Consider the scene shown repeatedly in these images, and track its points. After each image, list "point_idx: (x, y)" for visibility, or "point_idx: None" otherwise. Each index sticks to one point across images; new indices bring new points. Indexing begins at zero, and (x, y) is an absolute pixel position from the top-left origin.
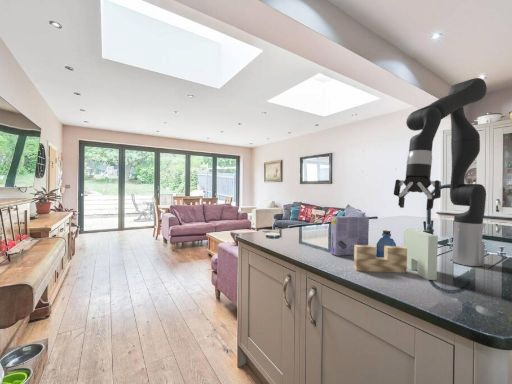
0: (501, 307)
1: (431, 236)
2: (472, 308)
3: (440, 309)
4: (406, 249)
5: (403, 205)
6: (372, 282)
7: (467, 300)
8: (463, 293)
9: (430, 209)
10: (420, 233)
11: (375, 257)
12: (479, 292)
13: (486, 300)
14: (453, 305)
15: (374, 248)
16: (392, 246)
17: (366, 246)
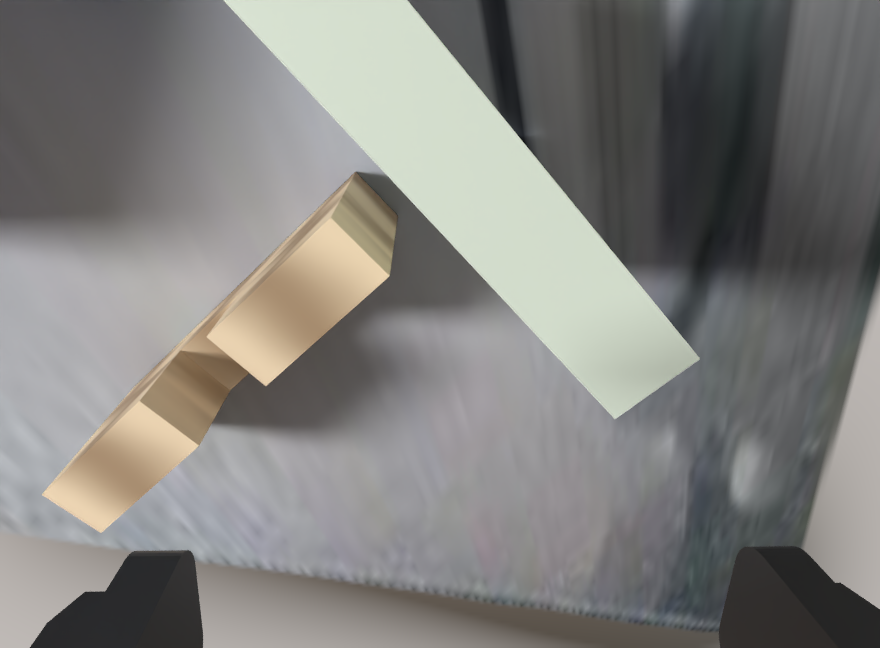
0: (828, 396)
1: (638, 397)
2: (721, 486)
3: (621, 570)
4: (384, 275)
5: (173, 619)
6: (334, 513)
7: (712, 419)
8: (704, 342)
9: (797, 559)
10: (514, 311)
11: (224, 400)
12: (778, 263)
13: (788, 358)
14: (660, 508)
15: (194, 446)
16: (267, 305)
17: (136, 475)
